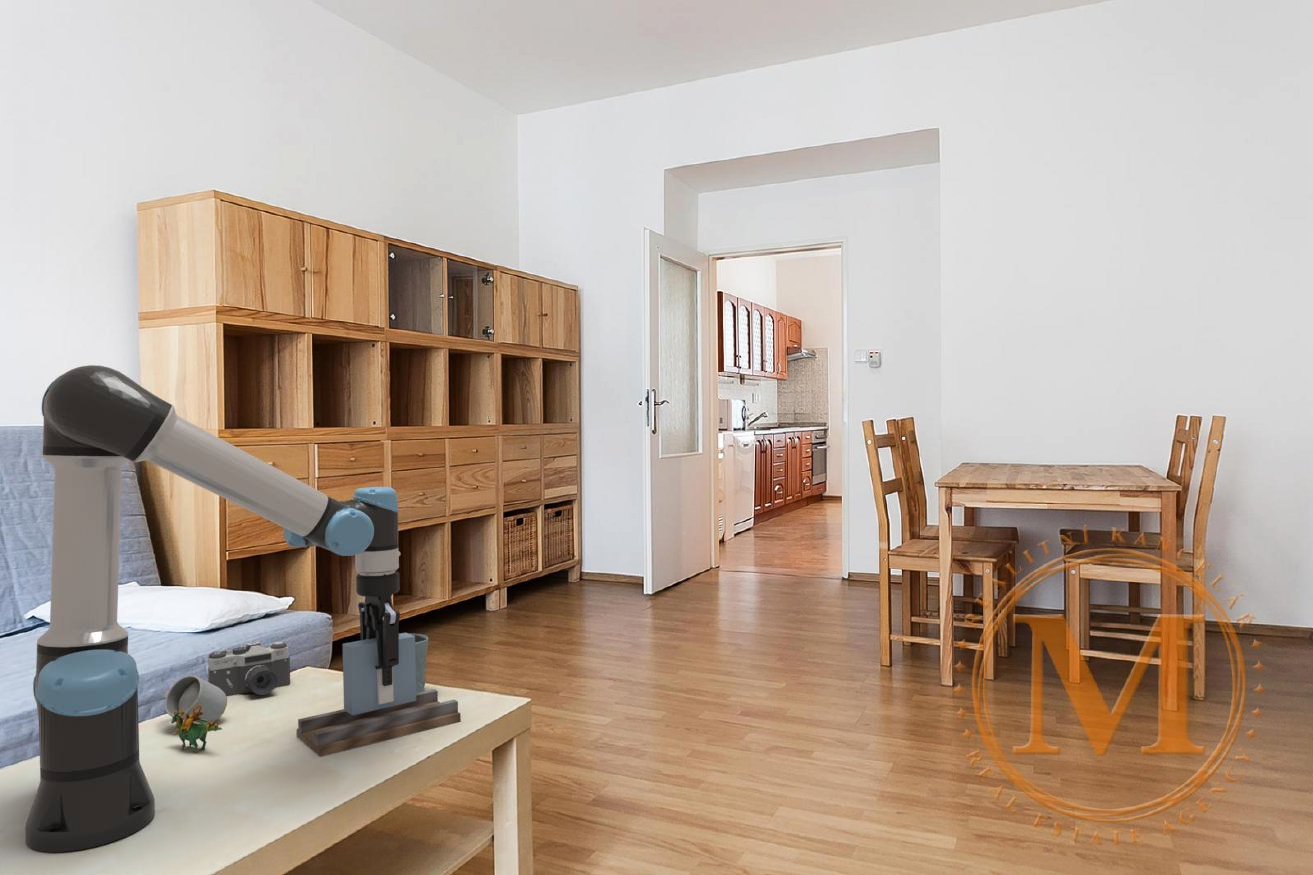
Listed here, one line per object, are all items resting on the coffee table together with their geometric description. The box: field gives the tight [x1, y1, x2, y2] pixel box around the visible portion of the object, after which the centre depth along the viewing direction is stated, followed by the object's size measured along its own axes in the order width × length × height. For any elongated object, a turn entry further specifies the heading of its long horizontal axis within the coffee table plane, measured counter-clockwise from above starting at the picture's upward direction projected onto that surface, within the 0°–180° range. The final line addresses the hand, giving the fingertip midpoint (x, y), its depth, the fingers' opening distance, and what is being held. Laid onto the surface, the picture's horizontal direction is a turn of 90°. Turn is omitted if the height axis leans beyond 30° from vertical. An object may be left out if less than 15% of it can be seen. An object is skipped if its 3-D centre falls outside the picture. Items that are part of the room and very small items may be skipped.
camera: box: [207, 640, 291, 697], centre depth 181 cm, size 16×10×10 cm, turn 127°
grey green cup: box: [409, 633, 429, 693], centre depth 178 cm, size 10×10×12 cm
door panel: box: [342, 632, 416, 715], centre depth 160 cm, size 12×4×12 cm, turn 130°
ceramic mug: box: [162, 674, 228, 724], centre depth 163 cm, size 11×8×8 cm
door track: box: [296, 688, 462, 757], centre depth 160 cm, size 26×12×4 cm, turn 130°
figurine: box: [170, 705, 223, 754], centre depth 150 cm, size 3×12×8 cm, turn 67°
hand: (380, 698), depth 160 cm, fingers closed on door panel, 4 cm apart
